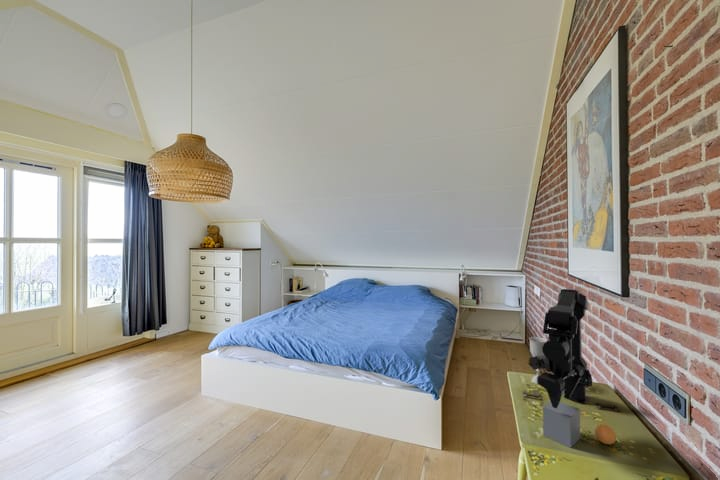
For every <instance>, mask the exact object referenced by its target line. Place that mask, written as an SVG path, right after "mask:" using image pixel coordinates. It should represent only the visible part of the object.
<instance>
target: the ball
mask: <svg viewBox="0 0 720 480" xmlns="http://www.w3.org/2000/svg"><path fill="white" fill-rule="evenodd" d="M594 435H595V437H596V439H598V441H599V442H601V443H603V444H605V445H613V444H614V443H616V440H617V435H616V432H615V431H614V429H613V428H612V427H610V426H609V425H607V424H598V425H596V426H595V428H594Z"/></svg>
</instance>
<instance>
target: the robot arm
mask: <svg viewBox="0 0 720 480" xmlns="http://www.w3.org/2000/svg"><path fill="white" fill-rule="evenodd" d="M557 299H558V300H557V303H556V305H555V306H551V307H549V309H548V310H547V312H545V314H544V322H543V329H542V334H545V335H548V338H547V339H546V340H547V341H546V342H545V344H544V345H543V347H542V351H543V354H544V355H545V356H535V357H533V356H532V355H531V356H529V359H528V366H530V367H531V368H532V370H534V371H536V369H539V370H541V369H545V372H542V374H539V375H540V376H538V377H537V384H536V385H539V386H540V387H542V388H544V389H545V391H546V392H547V396H548V397H549V400H550V401H551V404H552V407H554V408H557V407H558V405H559V403H560V402H561V401H562V397H563V398H565V399H567V400H571V401H574V402H576V403H578V404H579V403H580V404H582V405H584V404H585V403H587V402H588V401H589V400H590V397H589V396H587V395H586V394H587V393H586V390H587V388H590V387H592V386H593V377H592V374H591V372H590V369H588V363H587V361H586V360H585V359H584V358H583V351H582V319H583V317H584V316H585V314H586V312H587V310H588V307H589V305H588V302H589V301H588V298H587V296H586V295H584V294H582V293H581V292H579V290H576V289H567V288H562V289H561V290H560V292H559V293H558V298H557ZM550 401H549V402H550Z"/></svg>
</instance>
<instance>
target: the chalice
mask: <svg viewBox="0 0 720 480" xmlns="http://www.w3.org/2000/svg"><path fill="white" fill-rule="evenodd" d="M528 340H529V351H530V354H531V357H532V356H533V357H535V356H545V355H544V354H543V351H542V347H543V345H544V344H545V342H546V341H547V340H548V339H546V338H543V337H538V336H530V337H528ZM535 372H536V374H535V376H534V375H533V377H532V378H531V380H530V381H531V382H532V383H533V384H535V385H538V384H537V377H538V376H540V375H541V374H540V372H541V369H536V370H535Z"/></svg>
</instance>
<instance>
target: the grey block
mask: <svg viewBox="0 0 720 480" xmlns="http://www.w3.org/2000/svg"><path fill="white" fill-rule="evenodd" d="M542 436H544V437H546V438H548V439H550V440H553V441H555V442H557V443H559V444H560V445H561V444H562V445H564V446H566V447H568V448H570V449H572V447H573V446H574V445H575V444H576V443H577V442H578V441H579V440H581V409H580V408H579V407H575V406H572V405H571V404H568V403H565V402H562V401H560V403H559V405H558V407H557V408H554V407H552V404H551V401H549V402H547V403H546V404H545V405H542Z"/></svg>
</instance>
